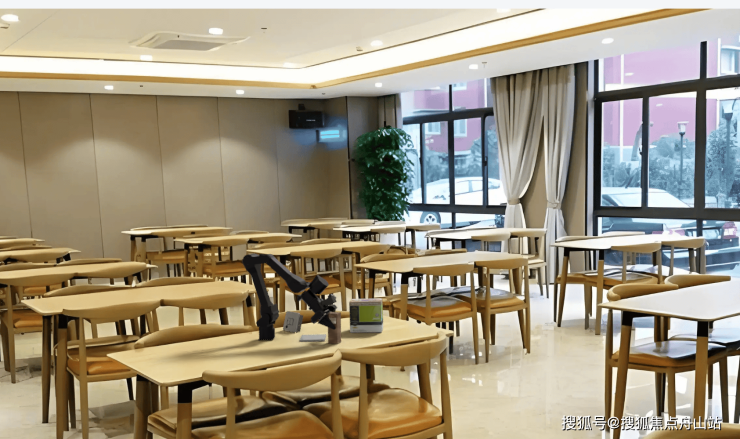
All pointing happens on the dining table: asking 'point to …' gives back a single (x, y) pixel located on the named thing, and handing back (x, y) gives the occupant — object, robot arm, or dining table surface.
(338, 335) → the walnut block
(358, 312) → the tea box
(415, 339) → the dining table surface
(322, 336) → the slate coaster
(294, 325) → the electrical switch
